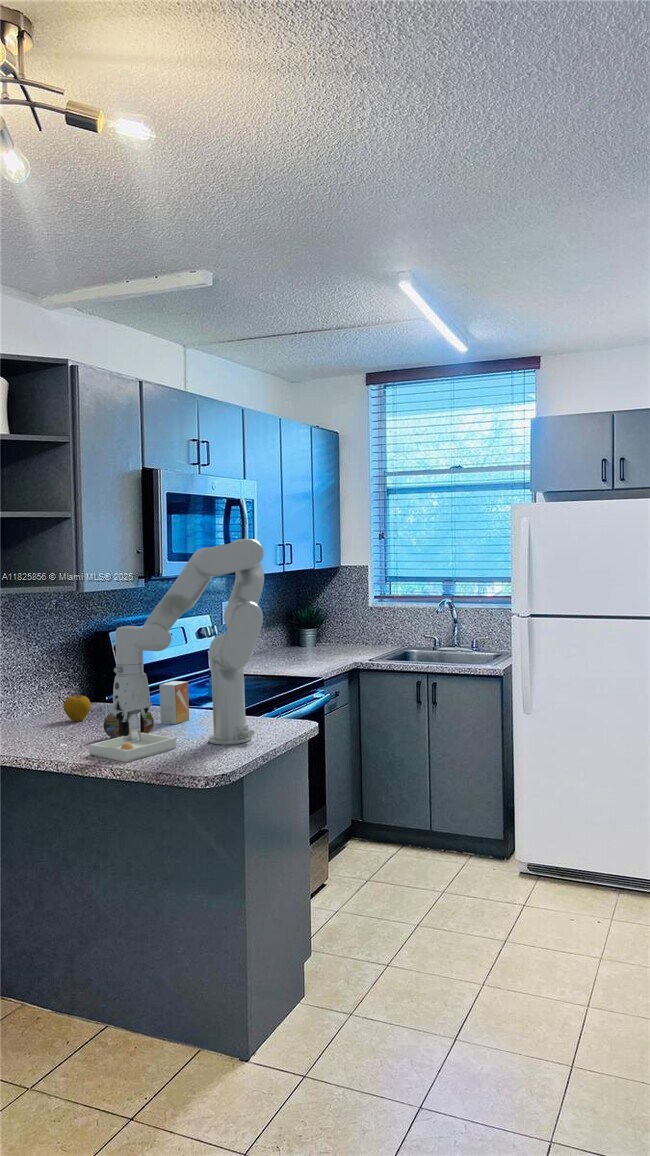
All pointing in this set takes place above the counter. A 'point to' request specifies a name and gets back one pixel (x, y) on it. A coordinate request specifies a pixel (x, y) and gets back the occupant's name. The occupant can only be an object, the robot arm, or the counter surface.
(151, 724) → the tin
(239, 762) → the counter surface
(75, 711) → the apple
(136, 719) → the shaker
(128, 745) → the ball
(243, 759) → the counter surface
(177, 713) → the small box
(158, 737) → the tray
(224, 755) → the counter surface
